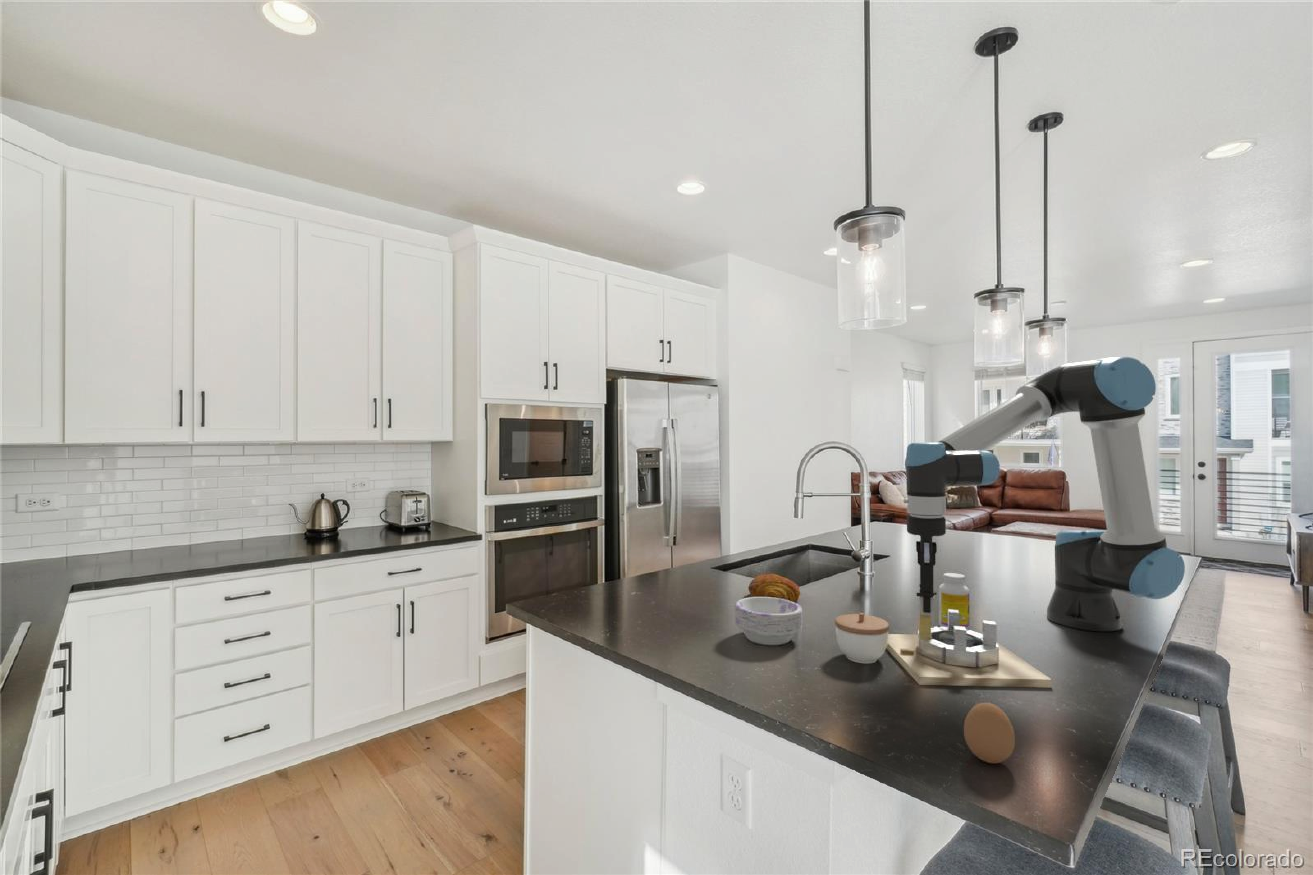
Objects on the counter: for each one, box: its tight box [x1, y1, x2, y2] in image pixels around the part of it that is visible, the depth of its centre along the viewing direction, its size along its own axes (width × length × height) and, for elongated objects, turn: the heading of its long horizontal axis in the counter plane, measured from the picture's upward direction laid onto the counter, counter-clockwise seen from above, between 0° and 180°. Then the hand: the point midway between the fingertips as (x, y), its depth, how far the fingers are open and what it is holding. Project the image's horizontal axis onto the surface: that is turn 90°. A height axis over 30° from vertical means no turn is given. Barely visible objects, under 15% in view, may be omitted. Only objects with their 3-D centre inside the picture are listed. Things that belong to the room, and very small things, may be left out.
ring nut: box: [917, 609, 999, 668], centre depth 123 cm, size 14×14×7 cm
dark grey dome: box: [939, 632, 974, 647], centre depth 123 cm, size 6×6×4 cm
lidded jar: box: [834, 612, 890, 665], centre depth 125 cm, size 11×11×9 cm
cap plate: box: [886, 633, 1053, 689], centre depth 123 cm, size 24×24×2 cm
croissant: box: [748, 573, 801, 603], centre depth 170 cm, size 14×16×8 cm
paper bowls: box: [734, 596, 803, 646], centre depth 137 cm, size 15×15×8 cm
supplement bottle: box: [938, 572, 970, 630], centre depth 145 cm, size 7×7×13 cm
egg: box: [963, 702, 1016, 764], centre depth 86 cm, size 6×6×8 cm
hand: (926, 626), depth 126 cm, fingers closed
